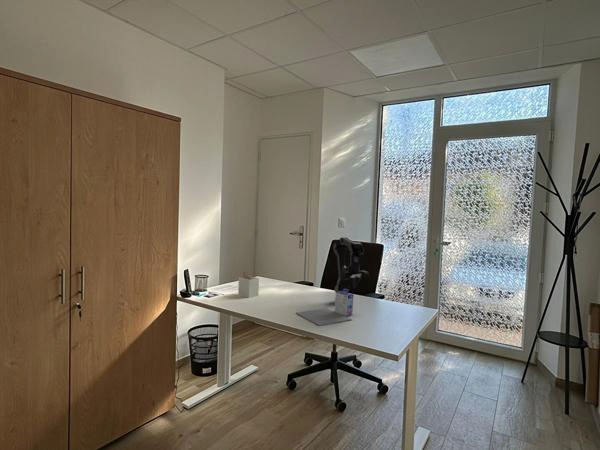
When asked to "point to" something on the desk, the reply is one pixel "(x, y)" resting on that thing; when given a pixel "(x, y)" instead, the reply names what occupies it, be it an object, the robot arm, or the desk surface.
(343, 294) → the ink cartridge box
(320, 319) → the mat
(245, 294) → the white box
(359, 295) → the desk surface
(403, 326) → the desk surface
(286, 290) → the desk surface
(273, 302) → the desk surface
